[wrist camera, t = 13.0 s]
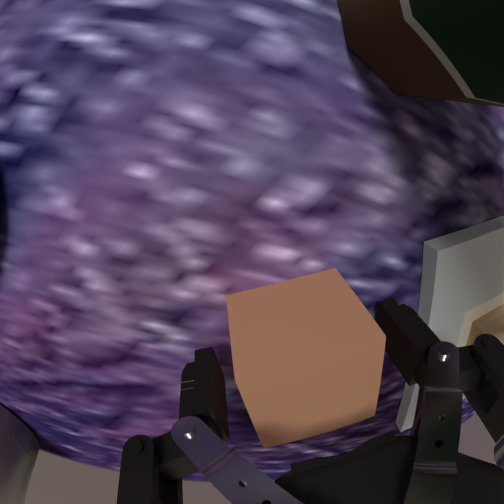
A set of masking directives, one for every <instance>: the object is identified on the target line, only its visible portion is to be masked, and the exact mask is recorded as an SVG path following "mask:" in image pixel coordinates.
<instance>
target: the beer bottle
mask: <svg viewBox="0 0 504 504" xmlns="http://www.w3.org/2000/svg"><path fill="white" fill-rule="evenodd" d="M338 4H339V8H340V13H341V18H342V23H343V28H344V33H345V39H346V44H347V46H348V47H349V48H350V49H351V50H352V51H353V52H354V53H356V54H357V55H358V56H359V57H360V58H361V59H362V60H363V61H364V62H365V63H366V64H367V65H368V66H369V67H370V68H371V69H372V70H373V71H374V72H375V73H376V74H377V75H378V76H379V77H380V78H381V79H382V80H383V81H384V82H385V83H386V84H387V85H388V86H389V87H390V89H391V90H392V91H393V92H394V93H395V94H397V95H401V96H414V97H425V98H434V99H443V100H451V101H459V102H466V103H473V104H484V105H494V106H503V107H504V0H338Z"/></svg>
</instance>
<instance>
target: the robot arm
mask: <svg viewBox="0 0 504 504" xmlns="http://www.w3.org/2000/svg"><path fill="white" fill-rule="evenodd" d="M375 321H376V323H377V324H378V326H379V327H380V328H381V330H382V331H383V333H384V334H385V335H386V342H385V350H386V351H387V353H388V354H389V356H390V357H391V359H392V360H393V362H394V364H395V365H396V367H397V368H398V370H399V371H400V373H401V374H402V376H403V378H404V379H405V381H406V382H407V384H408V385H409V387H410V386H412V385H414V384H416V383H417V384H418V385H419V387H420V388H419V391H418V398H417V404H416V410H415V416H414V421H413V426H412V429H411V433H410V436H407V435H402V436H395V435H394V433H393V431H390V432H388V433H385V434H383V435H380V436H378V437H375V438H373V439H370V440H368V441H367V442H365V443H364V444H362V445H360V446H359V447H357V448H356V449H354V450H352V451H351V452H349V453H347V454H345V455H340V456H329V457H316V458H313V459H309V460H305V461H301V462H297V463H293V464H290V466H291V471H289V472H287V473H285V474H283V475H282V476H280V477H279V478H278V479H276V480H275V481H272V480H271V479H270V478H269V477H267V476H266V475H265V474H264V473H262V472H261V471H260V470H259V469H258V468H256V467H255V466H254V465H253V464H252V463H250V462H249V461H248V460H247V459H246V458H245V457H243V456H242V455H241V454H240V453H239V452H238V451H236V450H235V449H231V448H230V447H229V446H228V445H227V444H226V443H225V442H224V441H227V440H230V438H229V427H228V415H227V403H226V391H225V379H224V375H223V371H222V369H221V366H220V364H219V362H218V359H217V357H216V355H215V352H214V350H213V348H212V347H208V348H204V349H199V350H195V362H192V363H187V364H186V366H185V368H184V370H183V371H182V378H181V382H182V383H181V393H180V409H179V420H178V421H176V422H175V423H174V425H173V427H172V429H171V431H170V432H168V433H166V434H164V435H161V436H159V437H156V438H154V439H150V438H149V437H148V436H145V435H136V436H133V437H131V438H130V439H128V440H127V442H126V443H125V444H124V447H123V453H122V460H121V468H120V478H119V487H118V497H117V504H183V493H182V478H183V477H185V476H188V475H190V474H193V473H195V472H198V471H201V472H202V474H203V475H204V476H205V477H206V478H207V479H208V480H209V481H210V482H211V483H212V484H213V485H214V487H215V488H217V489H218V491H219V492H220V493H221V494H223V495H224V496H225V497H226V499H228V500H229V501H230V502H231V503H232V504H504V345H503V344H502V343H501V341H500V340H499V339H498V338H497V337H495V336H494V335H491V334H481V335H479V336H477V337H476V339H475V341H474V344H473V345H468V346H463V347H456V346H455V345H454V344H452V343H450V342H447V341H441V340H440V339H439V338H438V337H437V336H436V335H435V333H434V332H433V331H432V330H431V329H430V328H429V327H428V325H427V324H426V323H425V322H423V320H422V319H421V317H419V315H418V314H417V313H416V312H415V311H414V310H413V309H412V308H410V307H409V306H407V305H405V304H402V305H398V303H397V302H396V301H395V300H394V299H393V298H392V297H389V298H387V299H384V300H381V301H378V302H376V305H375ZM462 392H463V393H462ZM463 394H464V395H465V397H466V398H467V400H468V401H469V403H470V404H471V406H472V407H473V409H474V410H475V412H476V413H477V415H478V416H479V417H480V419H481V421H482V422H483V423H484V425H485V427H486V428H487V430H488V432H489V433H490V435H491V436H492V438H493V440H494V441H495V443H496V444H495V447H494V456H495V457H494V460H495V462H496V464H497V465H495V464H492V463H488V462H485V461H482V460H479V459H476V458H473V457H470V456H467V455H464V454H462V453H459V452H458V447H459V438H460V428H461V416H462V398H463ZM39 448H40V443H39V441H38V439H37V438H36V436H35V435H34V434H33V432H32V431H31V430H30V429H29V428H28V427H27V426H26V425H25V424H24V423H23V422H22V421H20V420H19V419H18V418H17V417H16V416H15V415H13V414H12V413H11V412H10V411H8V410H7V409H6V408H4V407H3V406H2V405H0V504H24V503H25V499H26V494H27V490H28V486H29V482H30V479H31V475H32V471H33V468H34V465H35V461H36V458H37V455H38V451H39Z"/></svg>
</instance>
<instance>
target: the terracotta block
mask: <svg viewBox="0 0 504 504" xmlns="http://www.w3.org/2000/svg"><path fill="white" fill-rule="evenodd" d="M226 299H227V310H228V320H229V330H230V340H231V350H232V359H233V368H234V377H235V381H236V384H237V386H238V389H239V391H240V394H241V396H242V399H243V401H244V404H245V406H246V409H247V411H248V413H249V416H250V418H251V420H252V423H253V425H254V428H255V430H256V432H257V435H258V437H259V439H260V441H261V444H262V446H263V448H267V447H272V446H276V445H281V444H285V443H289V442H293V441H297V440H301V439H305V438H309V437H312V436H316V435H319V434H323V433H326V432H329V431H333V430H336V429H339V428H342V427H345V426H348V425H351V424H354V423H357V422H359V421H362V420H365V419H368V418H370V417H373V416H375V412H376V406H377V401H378V395H379V388H380V382H381V375H382V368H383V360H384V352H385V342H386V335H385V334H384V333H383V331H382V330H381V328H380V327H379V326H378V324H377V323H376V321H375V320H374V319H373V317H372V316H371V315H370V313H369V312H368V311H367V309H366V308H365V306H364V305H363V304H362V302H361V301H360V300H359V298H358V297H357V296H356V294H355V293H354V292H353V290H352V289H351V288H350V286H349V285H348V284H347V283H346V281H345V280H344V279H343V277H342V276H341V275H340V273H339V272H338V271H337V270H336V268H333V269H329V270H326V271H322V272H318V273H314V274H310V275H307V276H303V277H299V278H295V279H291V280H287V281H283V282H279V283H275V284H271V285H267V286H263V287H259V288H255V289H251V290H247V291H243V292H238V293H234V294H230V295H226Z"/></svg>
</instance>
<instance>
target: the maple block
mask: <svg viewBox="0 0 504 504" xmlns="http://www.w3.org/2000/svg"><path fill="white" fill-rule="evenodd" d="M481 334H491V335H494V336H495V337H497V338H498V339H499V340H500V341H501V343H502V344H503V345H504V303H503V304H502V305H500V306H498V307H497V308H495V309H493V310H492V311H490V312H488V313H487V314H485V315H483V316H481V317H480V318H478V319H476V320H474V321H473V322H472V326H471V329H470V333H469V336H468V340H467V343H466V346H468V345H473V344H474V341H475V339H476V337H477V336H479V335H481Z"/></svg>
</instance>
